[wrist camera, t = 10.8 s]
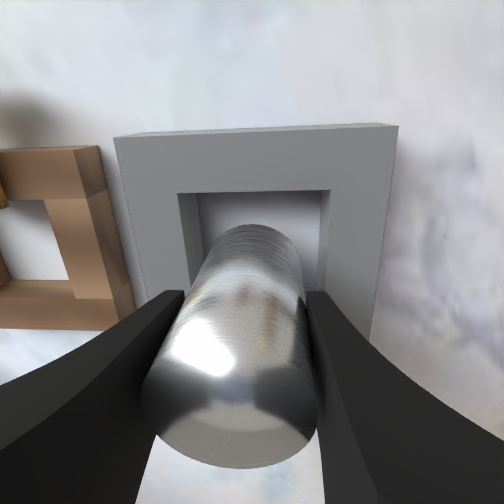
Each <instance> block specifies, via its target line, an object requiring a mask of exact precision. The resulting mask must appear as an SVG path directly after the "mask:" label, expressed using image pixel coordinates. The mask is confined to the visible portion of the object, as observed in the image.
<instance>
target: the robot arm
mask: <svg viewBox="0 0 504 504" xmlns="http://www.w3.org/2000/svg"><path fill="white" fill-rule="evenodd" d="M184 301H185V293H184V290H165V291H164V292H162V293H160V294H159V295H157V296H156V297H154V298H153V299H151V300H150V301H149V302H147V303H146V304H144V305H143V306H141V307H140V308H139V309H137V310H136V311H134V312H133V313H131V314H130V315H129V316H127V317H126V318H124V319H123V320H121V321H120V322H118V323H117V324H115V325H114V326H112V327H111V328H109V329H107V330H106V331H104V332H103V333H101V334H100V335H98V336H96V337H95V338H93V339H92V340H90V341H88V342H87V343H85V344H83V345H82V346H80V347H78V348H76V349H75V350H73V351H71V352H69V353H67V354H65V355H63V356H62V357H60V358H58V359H56V360H54V361H52V362H50V363H48V364H46V365H44V366H42V367H40V368H38V369H35V370H33V371H31V372H29V373H27V374H25V375H22V376H20V377H18V378H16V379H14V380H12V381H10V382H7V383H5V384H3V385H0V504H135V502H136V499H137V495H138V492H139V488H140V485H141V481H142V478H143V474H144V471H145V468H146V465H147V461H148V458H149V455H150V452H151V448H152V445H153V442H154V440H155V437H156V433H155V432H154V431H153V429H152V428H151V426H150V425H149V423H148V422H147V420H146V418H145V415H144V413H143V410H142V405H141V390H142V385H143V382H144V380H145V377H146V375H147V373H148V371H149V369H150V368H151V366H152V364H153V362H154V360H155V358H156V356H157V354H158V352H159V350H160V348H161V346H162V344H163V342H164V340H165V338H166V336H167V334H168V332H169V330H170V328H171V326H172V324H173V322H174V320H175V318H176V316H177V314H178V312H179V311H180V309H181V307H182V305H183V303H184ZM306 313H307V322H308V330H309V337H310V346H311V354H312V363H313V371H314V379H315V388H316V396H317V405H318V423H317V432H318V438H319V445H320V452H321V461H322V472H323V484H324V495H325V504H504V441H503V440H501V439H499V438H498V437H496V436H494V435H493V434H491V433H490V432H488V431H486V430H485V429H483V428H482V427H480V426H478V425H477V424H475V423H473V422H472V421H470V420H469V419H467V418H465V417H464V416H462V415H461V414H459V413H458V412H456V411H455V410H453V409H452V408H450V407H449V406H447V405H446V404H444V403H443V402H441V401H440V400H439V399H437V398H436V397H434V396H433V395H432V394H430V393H429V392H428V391H426V390H425V389H423V388H422V387H421V386H419V385H418V384H417V383H415V382H414V381H413V380H411V379H410V378H409V377H408V376H406V375H405V374H404V373H403V372H401V371H400V370H399V369H398V368H397V367H395V366H394V365H393V364H392V363H391V362H390V361H388V360H387V359H386V358H385V357H384V356H383V355H382V354H381V353H380V352H379V351H378V350H377V349H376V348H374V347H373V346H372V345H371V344H370V343H369V342H368V341H367V339H366V338H365V337H364V336H363V335H362V334H361V333H360V332H359V331H358V330H357V329H356V328H355V326H354V325H353V324H352V323H351V322H350V321H349V320H348V318H347V317H346V316H345V315H344V314H343V312H342V311H341V310H340V309H339V307H338V306H337V305H336V304H335V302H334V301H333V300H332V298H331V297H330V295H329V294H328V293H327V292H326V291H306Z"/></svg>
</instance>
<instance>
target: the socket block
mask: <svg viewBox="0 0 504 504" xmlns="http://www.w3.org/2000/svg"><path fill="white" fill-rule="evenodd" d="M0 183H1V186H2V188H3V191H4V194H5V196H6V199H7V200H43V201H44V204H45V207H46V210H47V213H48V216H49V219H50V222H51V225H52V228H53V231H54V234H55V237H56V240H57V244H58V247H59V250H60V253H61V256H62V259H63V262H64V265H65V268H66V271H67V274H68V277H69V280H11V278H10V276H9V273H8V271H7V269H6V266H5V264H4V261H3V259H2V257H1V254H0V328H4V329H47V330H91V331H106V330H107V329H109V328H111V327H112V326H114V325H115V324H117V323H118V322H120V321H121V320H123V319H124V318H126V317H127V316H129V315H130V314H131V313H133V312H134V311H136V306H135V302H134V298H133V294H132V289H131V285H130V281H129V277H128V273H127V268H126V264H125V260H124V256H123V251H122V247H121V243H120V239H119V234H118V230H117V226H116V222H115V218H114V213H113V209H112V205H111V201H110V196H109V192H108V188H107V184H106V180H105V175H104V171H103V167H102V163H101V158H100V154H99V150H98V146H97V145H95V146H70V147H44V148H19V149H0Z"/></svg>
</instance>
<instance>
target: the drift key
mask: <svg viewBox="0 0 504 504" xmlns="http://www.w3.org/2000/svg"><path fill="white" fill-rule="evenodd" d="M8 206H9V204H8V202H7V199H6V196H5V194H4V191H3V188H2V186H1V183H0V209H3V208H5V207H8Z"/></svg>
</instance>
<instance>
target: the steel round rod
mask: <svg viewBox="0 0 504 504" xmlns="http://www.w3.org/2000/svg"><path fill="white" fill-rule="evenodd" d="M141 405H142V410H143V413H144V415H145V418H146V420H147V422H148V423H149V425H150V426H151V428H152V429H153V431H154V432H155V433H156V434H157V435H158V436H159V437H160V438H161V439H162V440H163V441H164V442H165V443H166V444H168V445H169V446H171V447H172V448H173V449H175V450H176V451H178V452H180V453H182V454H183V455H185V456H187V457H190V458H192V459H194V460H197V461H200V462H202V463H206V464H209V465H213V466H218V467H224V468H233V469H250V468H259V467H265V466H269V465H273V464H276V463H279V462H282V461H284V460H286V459H288V458H290V457H292V456H293V455H295V454H297V453H298V452H299V451H300V450H302V449H303V448H304V447H305V446H306V445H307V443H308V442H309V441H310V440H311V438H312V436H313V435H314V433H315V430H316V427H317V423H318V405H317V396H316V388H315V379H314V371H313V363H312V354H311V346H310V337H309V330H308V322H307V313H306V304H305V295H304V287H303V279H302V270H301V262H300V257H299V255H298V252H297V250H296V248H295V246H294V245H293V244H292V242H291V241H290V240H289V239H288V238H287V237H286V236H285V235H283V234H282V233H280V232H279V231H277V230H275V229H273V228H270V227H267V226H263V225H256V224H249V225H241V226H238V227H235V228H232V229H230V230H228V231H227V232H225V233H224V234H222V235H221V236H220V237H219V238H218V239H217V240H216V241H215V243H214V244H213V246H212V248H211V250H210V252H209V254H208V255H207V257H206V259H205V261H204V263H203V265H202V267H201V269H200V271H199V273H198V275H197V277H196V279H195V281H194V283H193V285H192V287H191V289H190V291H189V293H188V295H187V297H186V299H185V301H184V303H183V305H182V307H181V309H180V311H179V312H178V314H177V316H176V318H175V320H174V322H173V324H172V326H171V328H170V330H169V332H168V334H167V336H166V338H165V340H164V342H163V344H162V346H161V348H160V350H159V352H158V354H157V356H156V358H155V360H154V362H153V364H152V366H151V368H150V369H149V371H148V373H147V375H146V377H145V380H144V382H143V385H142V390H141Z"/></svg>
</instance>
